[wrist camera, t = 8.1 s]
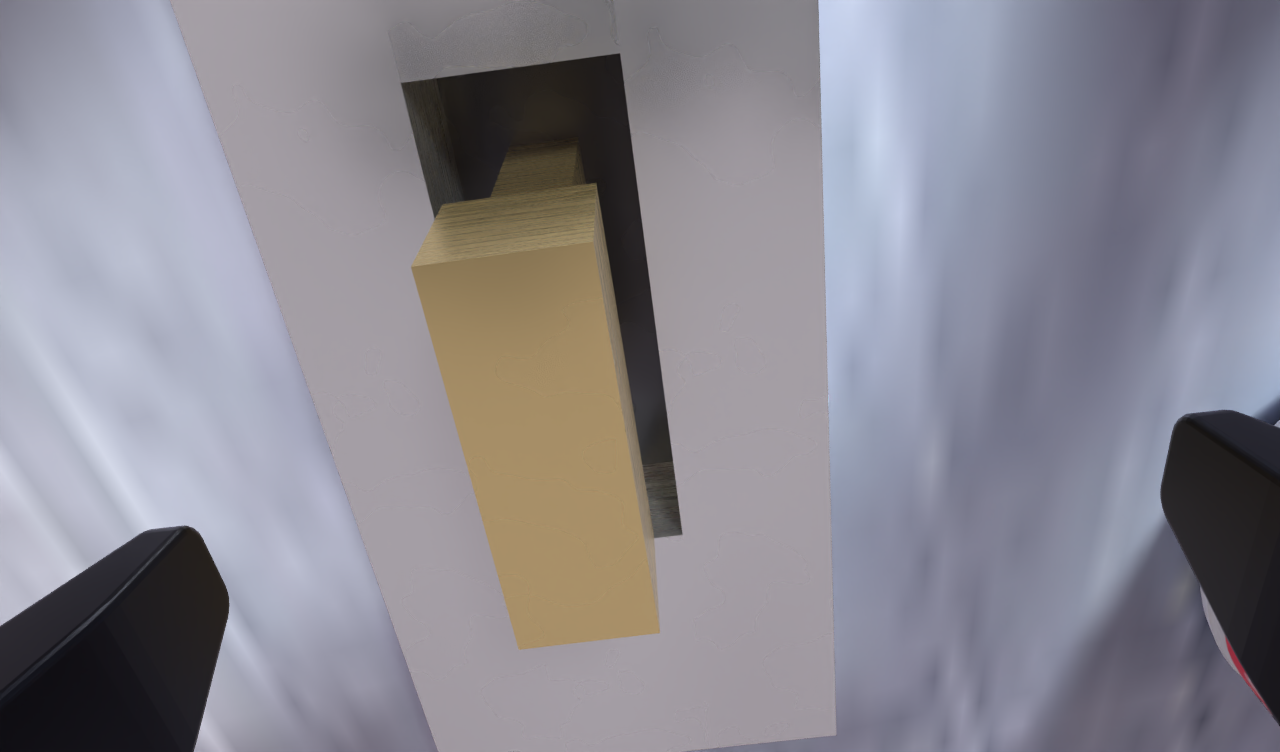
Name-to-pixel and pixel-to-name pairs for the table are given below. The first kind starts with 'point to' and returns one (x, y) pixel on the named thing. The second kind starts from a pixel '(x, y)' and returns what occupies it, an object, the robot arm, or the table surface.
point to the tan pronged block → (544, 398)
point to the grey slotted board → (647, 311)
